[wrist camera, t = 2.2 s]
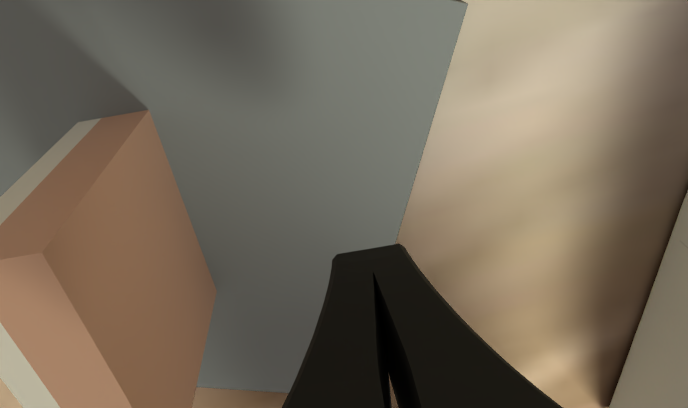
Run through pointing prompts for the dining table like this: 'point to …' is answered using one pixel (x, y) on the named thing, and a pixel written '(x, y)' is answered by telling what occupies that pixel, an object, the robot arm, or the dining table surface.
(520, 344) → the dining table surface
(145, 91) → the felt mat
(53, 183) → the terracotta tile
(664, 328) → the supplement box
